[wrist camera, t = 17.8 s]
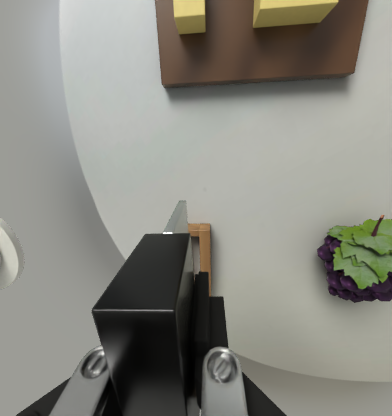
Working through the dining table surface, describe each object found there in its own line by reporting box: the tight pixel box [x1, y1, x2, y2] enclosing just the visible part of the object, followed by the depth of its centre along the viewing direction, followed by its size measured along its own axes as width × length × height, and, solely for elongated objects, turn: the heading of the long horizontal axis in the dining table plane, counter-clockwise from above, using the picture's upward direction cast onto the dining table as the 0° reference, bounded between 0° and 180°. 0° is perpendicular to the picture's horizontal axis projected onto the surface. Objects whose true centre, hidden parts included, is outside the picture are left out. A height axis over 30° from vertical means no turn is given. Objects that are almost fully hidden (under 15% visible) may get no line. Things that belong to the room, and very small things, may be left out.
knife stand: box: [188, 224, 211, 297], centre depth 31 cm, size 5×12×2 cm, turn 2°
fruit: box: [317, 215, 392, 303], centre depth 25 cm, size 10×11×15 cm
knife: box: [92, 200, 200, 416], centre depth 10 cm, size 2×9×9 cm, turn 3°
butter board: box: [155, 0, 368, 88], centre depth 20 cm, size 22×14×2 cm, turn 92°
